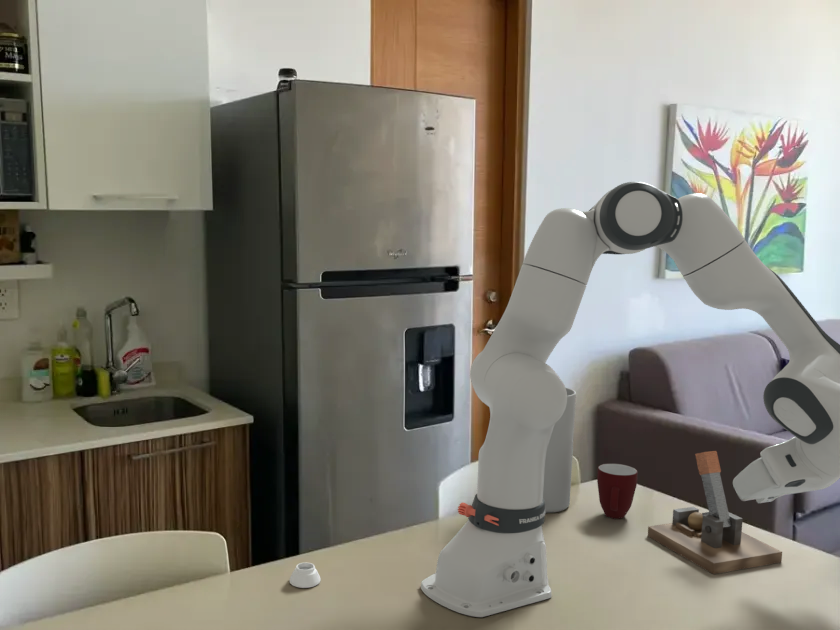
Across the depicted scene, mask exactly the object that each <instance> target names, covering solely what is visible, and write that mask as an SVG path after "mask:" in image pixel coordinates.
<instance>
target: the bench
mask: <svg viewBox="0 0 840 630" xmlns="http://www.w3.org/2000/svg"><path fill="white" fill-rule="evenodd" d="M699 511H700V509H698V508H696V507H695V506H688V507H682V508H673V511H672V522H670V523H669V522H668V523H663V524H655V525H650V526H649V525H648V527H647V537H648V538H650V539H652V540H653V541H655V542H657V543H659V544H660V545H662V546H664V547H666V548H667V549H669V550H671V551H673V552H674V553H676V554H678V555H679V556H681V557H683V558H685V559H686V560H688V561H690V562H692V563H693V564H695V565H696V566H698V567H700V568H702V569H704V570H705V571H707V572H709V573H711V574H712V575H715V574H722V573H729V572H735V571H739V570H745V569H746V570H747V569H750V568H751V569H752V568H756V567H762V566H768V565H773V564H778V563H779V564H780V563H782V559H783V551H782V550H780V549H778V548H775V547H773V546H772V545H769V544H767V543H765V542H763V541H762V540H759V539H757V538H754V537H753V536H751V535H749V534H747V533H746V532H743V531H742V530H743V521H744V520H743V518H742V517H740V516H738V515H737V514H735V513H734V514H733V513H732V512H729V511H728V513H729V517H730V522H731V526H730V527H723V522H724V521H722V520H720V519H718V518H716V517H714V516H712V515H703V521H702V530H700V531H696V530H693V529H692V528H691V527H690V526H689V524H688V517H689V516H690V514H692V513H694V512H699ZM699 513H700V512H699Z"/></svg>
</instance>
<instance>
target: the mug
mask: <svg viewBox="0 0 840 630" xmlns="http://www.w3.org/2000/svg"><path fill="white" fill-rule="evenodd" d="M596 476H597V481H596V482H597V489H598V490H597V491H598V500H599V504H600V507H601V509H602V511H603V514H604V515H605V517H608V518H609V517H610V519H614V518H615V520H619V519H621V520H622V519H624V518H625V517H626V515H627V513H629V511H630V509H631V507H632V504H633V500H634V496H635V492H636V489H637V483H638V470H637V469H636V468H635V467H632V466H629V465H626V464H621V463H603V464H600V465H598V467H597V475H596Z"/></svg>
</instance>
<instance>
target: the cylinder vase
mask: <svg viewBox="0 0 840 630" xmlns="http://www.w3.org/2000/svg"><path fill="white" fill-rule="evenodd" d="M565 388H566V391H567V404H566V408H565V411H564V413H563V415H562V416H561V417H560V419H559V420H558V421H557V422H556V423H555V424H554V427H553V431H552V434H551V437H550V441H549V444H548V448H547V453H546V459H545V470H544V486H543V499H544V501H545V509H546V510H545V514H547V513H548V514H551V513H552V514H553V513H558V512H559V513H560V512H562V511H564V510H566V509H567V508H568V507H570V503H571V489H572V488H571V486H572V471H573V470H572V469H573V453H574V452H573V451H574V435H575V418H576V404H577V403H576V399H577V392H576V390H574V389H573V388H569V387H566V386H565Z"/></svg>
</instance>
